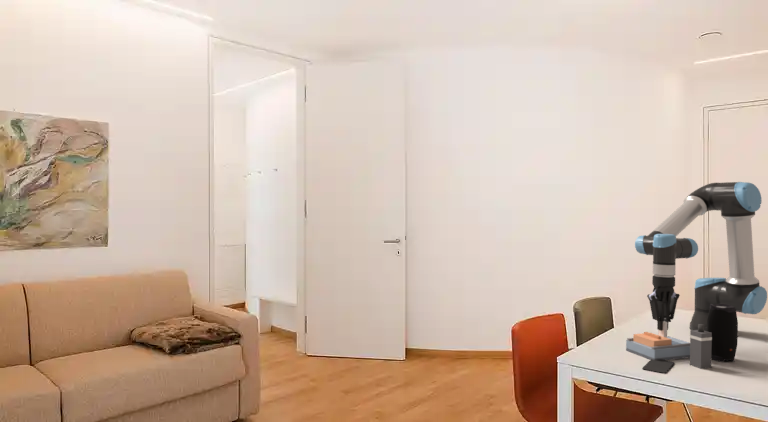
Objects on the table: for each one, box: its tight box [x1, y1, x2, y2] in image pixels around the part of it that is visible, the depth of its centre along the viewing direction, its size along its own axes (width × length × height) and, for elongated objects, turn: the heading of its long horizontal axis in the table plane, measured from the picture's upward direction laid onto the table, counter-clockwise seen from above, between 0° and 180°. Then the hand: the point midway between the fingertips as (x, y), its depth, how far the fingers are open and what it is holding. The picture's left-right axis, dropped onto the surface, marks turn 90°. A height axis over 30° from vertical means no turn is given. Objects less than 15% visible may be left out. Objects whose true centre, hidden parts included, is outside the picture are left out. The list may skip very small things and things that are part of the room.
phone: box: [642, 359, 675, 375], centre depth 187 cm, size 7×1×15 cm
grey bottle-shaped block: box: [689, 324, 712, 370], centre depth 187 cm, size 5×5×14 cm
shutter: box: [632, 331, 672, 347], centre depth 201 cm, size 8×10×4 cm
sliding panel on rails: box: [625, 335, 690, 361], centre depth 202 cm, size 20×14×5 cm
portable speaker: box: [707, 303, 739, 363], centre depth 195 cm, size 9×9×20 cm
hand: (662, 338), depth 202 cm, fingers closed
